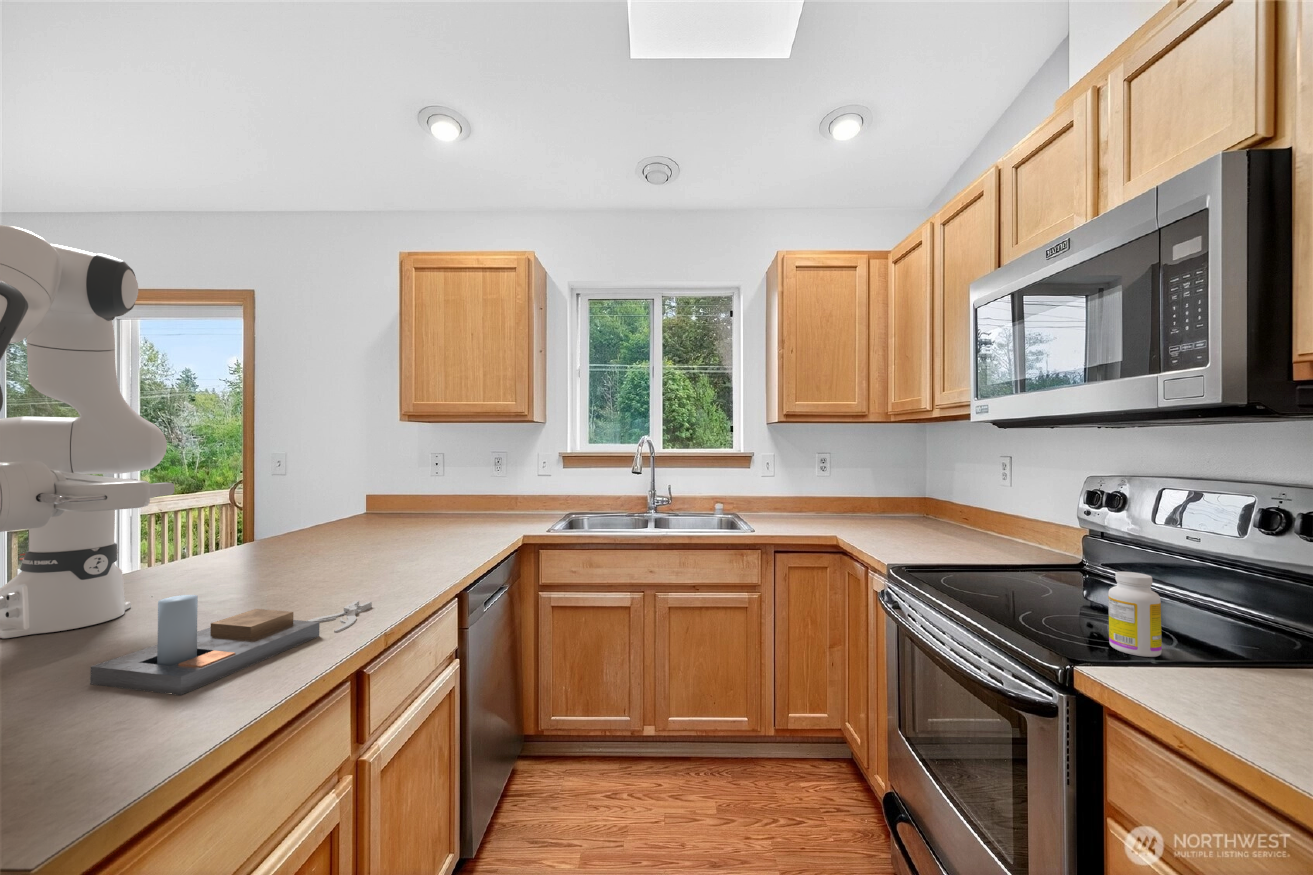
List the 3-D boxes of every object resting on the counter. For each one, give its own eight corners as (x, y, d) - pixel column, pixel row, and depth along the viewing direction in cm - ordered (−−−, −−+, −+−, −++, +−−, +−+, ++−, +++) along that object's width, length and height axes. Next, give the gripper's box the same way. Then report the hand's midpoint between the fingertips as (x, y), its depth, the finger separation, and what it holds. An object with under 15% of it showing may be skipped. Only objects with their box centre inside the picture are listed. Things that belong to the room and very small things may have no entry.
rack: (90, 684, 76) (90, 652, 76) (245, 629, 98) (245, 604, 98) (180, 695, 73) (181, 661, 73) (319, 636, 95) (319, 610, 95)
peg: (148, 678, 78) (149, 602, 78) (181, 665, 82) (181, 594, 82) (173, 680, 77) (174, 603, 77) (204, 668, 81) (205, 595, 81)
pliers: (287, 623, 98) (342, 600, 113) (287, 632, 98) (342, 607, 113) (338, 625, 97) (386, 601, 112) (337, 634, 97) (386, 609, 112)
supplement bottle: (1151, 647, 92) (1151, 572, 92) (1169, 661, 86) (1168, 581, 86) (1103, 641, 95) (1102, 568, 95) (1116, 654, 89) (1115, 576, 89)
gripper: (61, 475, 65) (194, 469, 78) (-15, 466, 73) (118, 462, 86) (60, 527, 65) (193, 512, 78) (-16, 513, 73) (117, 501, 86)
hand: (153, 486), depth 82 cm, fingers open, 8 cm apart
